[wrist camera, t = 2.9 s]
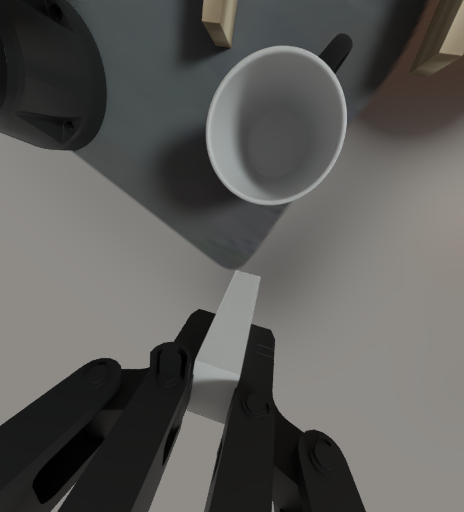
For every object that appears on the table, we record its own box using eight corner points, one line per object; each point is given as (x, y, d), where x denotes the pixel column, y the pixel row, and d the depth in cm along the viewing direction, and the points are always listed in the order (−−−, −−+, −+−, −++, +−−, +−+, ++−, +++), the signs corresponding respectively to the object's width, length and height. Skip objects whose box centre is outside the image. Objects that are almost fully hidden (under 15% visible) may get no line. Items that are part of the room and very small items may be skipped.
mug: (279, 206, 25) (277, 230, 16) (219, 156, 24) (181, 152, 15) (367, 104, 20) (437, 55, 11) (293, 37, 19) (303, -76, 10)
